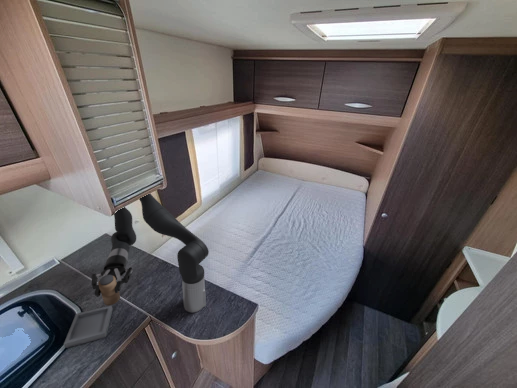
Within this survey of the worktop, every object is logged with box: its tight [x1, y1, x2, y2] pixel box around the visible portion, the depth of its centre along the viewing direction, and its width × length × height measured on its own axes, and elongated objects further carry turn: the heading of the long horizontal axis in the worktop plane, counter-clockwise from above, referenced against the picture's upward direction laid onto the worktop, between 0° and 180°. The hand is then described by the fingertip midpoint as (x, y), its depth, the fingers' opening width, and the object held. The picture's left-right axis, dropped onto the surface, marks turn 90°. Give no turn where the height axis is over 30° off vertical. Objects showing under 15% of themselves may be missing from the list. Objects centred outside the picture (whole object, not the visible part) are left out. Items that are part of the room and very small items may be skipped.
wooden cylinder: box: [97, 275, 121, 306], centre depth 78 cm, size 5×5×11 cm
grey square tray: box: [63, 305, 113, 349], centre depth 80 cm, size 12×12×2 cm
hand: (107, 293), depth 75 cm, fingers closed on wooden cylinder, 5 cm apart
